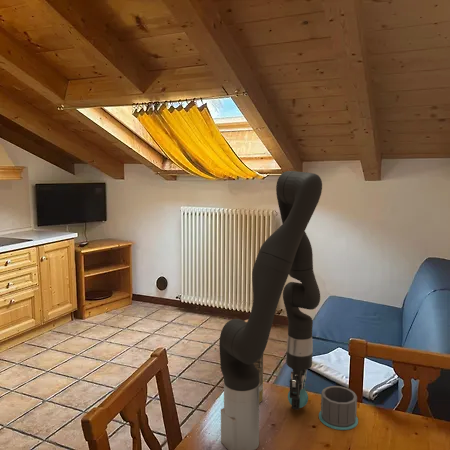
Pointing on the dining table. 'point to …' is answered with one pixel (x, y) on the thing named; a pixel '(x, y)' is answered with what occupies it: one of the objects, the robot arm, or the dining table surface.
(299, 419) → the dining table surface
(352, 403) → the grey ribbed round container
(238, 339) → the robot arm
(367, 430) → the dining table surface
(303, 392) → the ball
